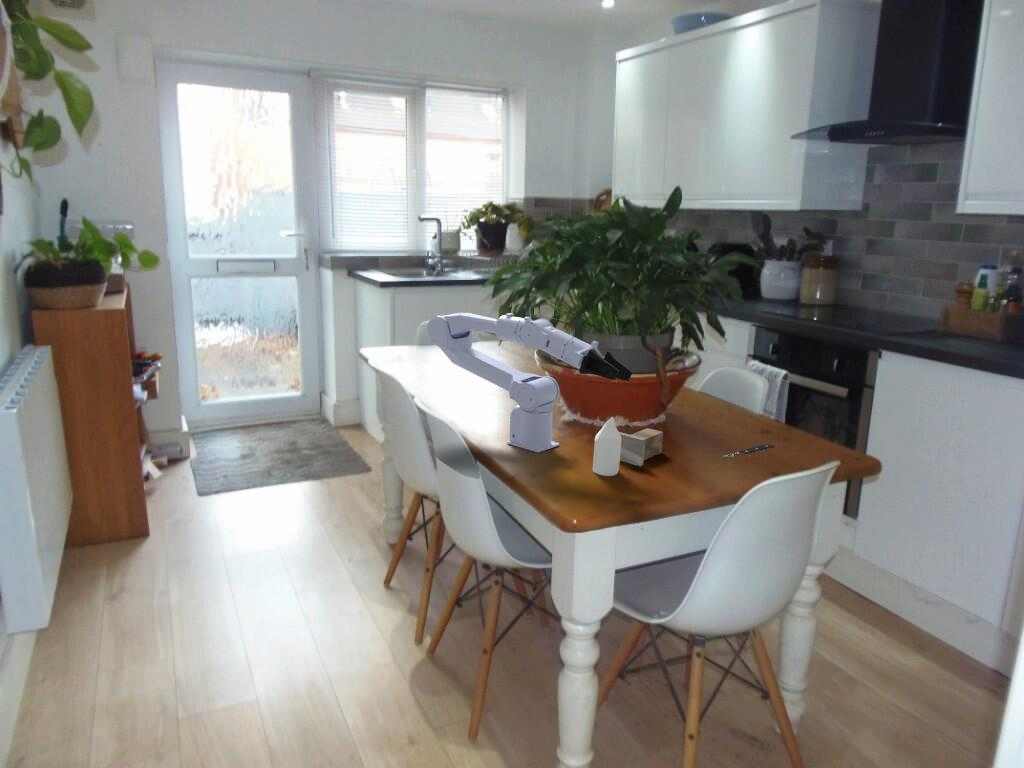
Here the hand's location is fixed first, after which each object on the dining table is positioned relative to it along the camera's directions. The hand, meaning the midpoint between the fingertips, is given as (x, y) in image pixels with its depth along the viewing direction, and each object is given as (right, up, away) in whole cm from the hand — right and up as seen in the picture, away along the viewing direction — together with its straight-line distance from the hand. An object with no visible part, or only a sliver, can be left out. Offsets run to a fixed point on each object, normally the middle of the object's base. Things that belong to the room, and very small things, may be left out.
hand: (623, 376), depth 155 cm
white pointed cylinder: (-4, -20, +1) cm, 21 cm away
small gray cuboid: (+6, -18, +12) cm, 22 cm away
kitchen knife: (+28, -19, +11) cm, 35 cm away
